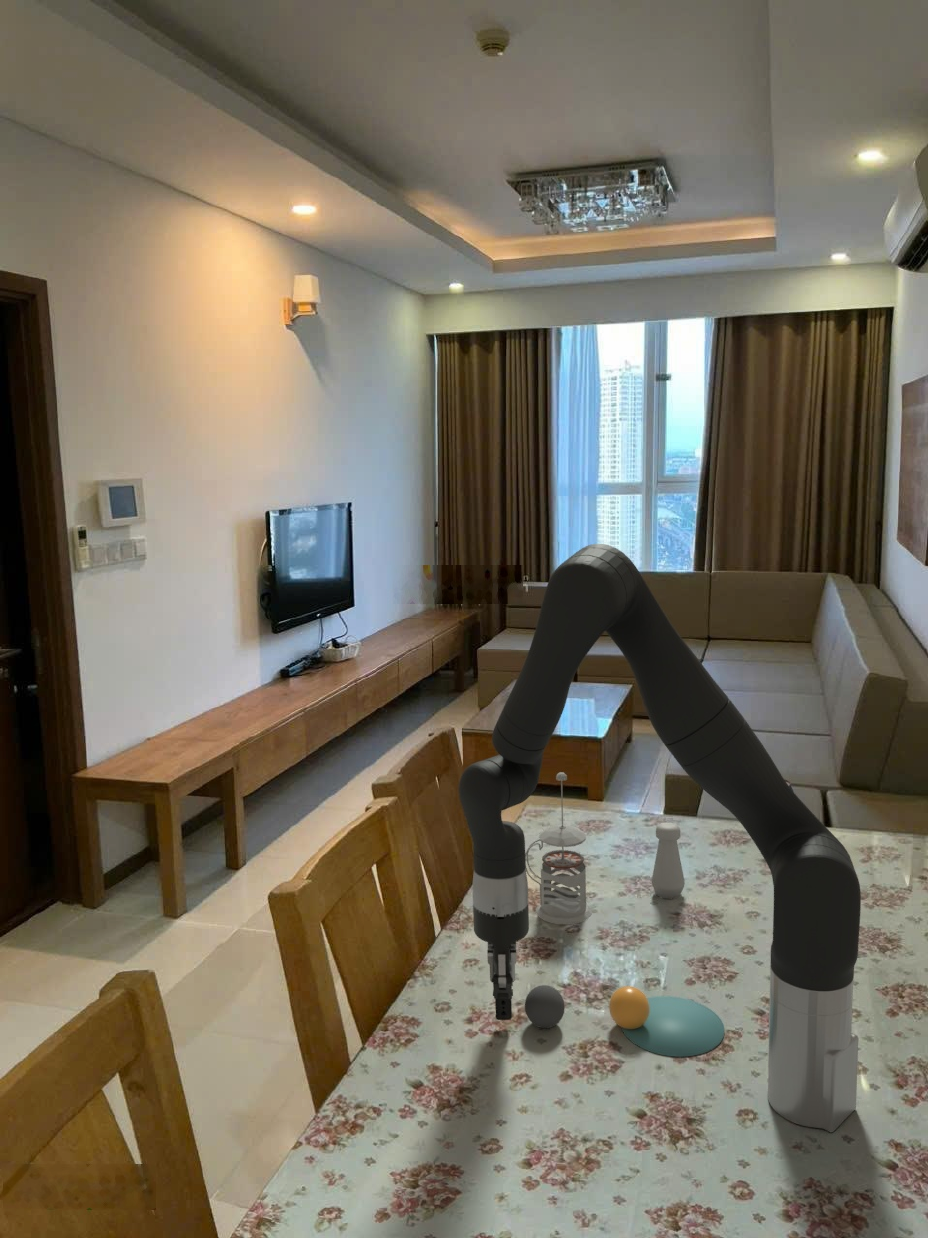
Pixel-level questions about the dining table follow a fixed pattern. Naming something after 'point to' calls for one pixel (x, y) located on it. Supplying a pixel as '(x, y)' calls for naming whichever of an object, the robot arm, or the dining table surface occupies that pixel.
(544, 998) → the charcoal ball
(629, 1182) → the dining table surface
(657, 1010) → the teal mark
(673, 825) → the salt shaker
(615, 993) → the orange ball
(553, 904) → the french press
